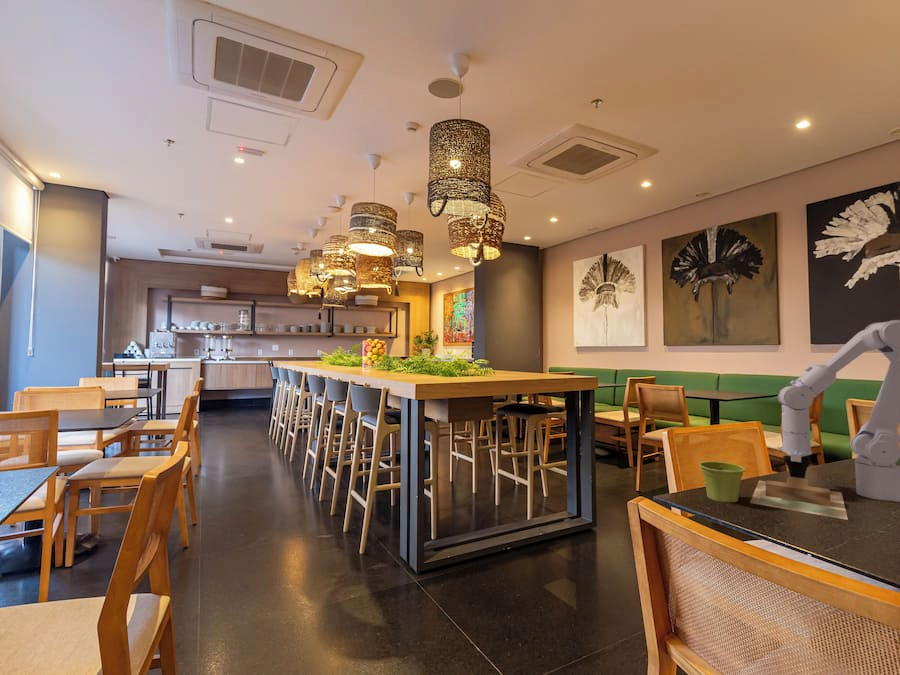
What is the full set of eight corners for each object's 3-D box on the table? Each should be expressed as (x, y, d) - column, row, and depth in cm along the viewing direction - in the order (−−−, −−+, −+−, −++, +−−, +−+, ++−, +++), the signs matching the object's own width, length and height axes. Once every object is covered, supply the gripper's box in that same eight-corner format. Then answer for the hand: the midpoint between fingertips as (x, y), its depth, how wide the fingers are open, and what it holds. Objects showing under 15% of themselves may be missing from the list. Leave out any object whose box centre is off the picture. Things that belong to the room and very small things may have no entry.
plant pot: (753, 510, 100) (752, 472, 100) (708, 507, 102) (707, 469, 102) (735, 497, 109) (734, 462, 110) (694, 495, 111) (693, 460, 111)
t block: (829, 494, 109) (828, 481, 109) (830, 506, 99) (830, 493, 100) (769, 484, 116) (769, 473, 116) (765, 495, 107) (765, 483, 107)
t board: (841, 496, 110) (841, 492, 110) (848, 524, 91) (847, 519, 91) (759, 484, 121) (759, 480, 121) (750, 507, 102) (749, 502, 102)
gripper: (778, 427, 122) (780, 476, 122) (775, 434, 111) (776, 488, 110) (811, 430, 118) (813, 481, 117) (810, 437, 107) (813, 493, 106)
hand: (797, 485), depth 113 cm, fingers closed
